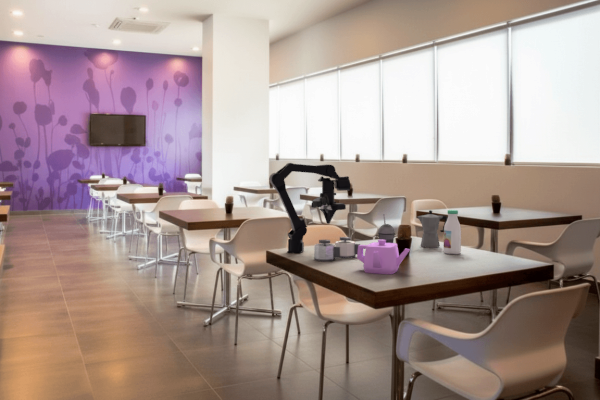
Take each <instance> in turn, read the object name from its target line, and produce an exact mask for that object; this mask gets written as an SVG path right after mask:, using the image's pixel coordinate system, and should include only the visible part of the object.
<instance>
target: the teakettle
mask: <svg viewBox="0 0 600 400" xmlns="http://www.w3.org/2000/svg"><path fill="white" fill-rule="evenodd" d="M385 242H386V240H383V239H380V240H379V239H378V240H377V242H376V241H374V242H373V241H372V242H371V243H369V244H360V245H359V246H358V253H357V254H356V259H357V260H359V261H360V262H362V263H363V270H364V273H366V274H378V275H393V274H395V273H397V272H398V271H399V267H400V264H401V263H402V262H403V260H404V259H405V258H406V256H408V254H409V252H410V251H411V250H410V248H404V249H403V251H402V252H401V253H399V248H398V243H395V242H393V243H385ZM364 249H365V252H364Z"/></svg>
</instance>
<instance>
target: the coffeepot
mask: <svg viewBox="0 0 600 400" xmlns="http://www.w3.org/2000/svg"><path fill="white" fill-rule="evenodd" d="M428 212H429V213H427V214H424V215H423V214H422V215H418V216H416V218H418V221H419V222H420V223H421V226H422V227H421V228H422V230H423V231H422V232H423V233H422V236H421V237H422V238H421V242H420V247H422V248H427V249H428V248H429V249H431V248H432V249H433V248H435V249H436V248H440V247H441V246H440V239H439V234H438V230H439V226H440V221H441V220H442V221H443V220H444V223H443V226H442V229H441V230H439V232H441V233H444V226H445V223H446V221H447V219H448V216H447V215H436V214H433V210H428Z"/></svg>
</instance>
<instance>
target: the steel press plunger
mask: <svg viewBox="0 0 600 400" xmlns="http://www.w3.org/2000/svg"><path fill="white" fill-rule="evenodd" d="M321 243H323V245H326V243H329V244H331V239H319V240H318V244H321Z"/></svg>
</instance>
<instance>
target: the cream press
mask: <svg viewBox="0 0 600 400" xmlns="http://www.w3.org/2000/svg"><path fill="white" fill-rule="evenodd" d="M334 243H335V244H334V245H335V247H340V258H339V259H354V258H357V253H358V246H359V245H361V243H356V241H354V240H349V241H346V243H345V242H344V241H341V240H337V241H335V242H334ZM353 257H354V258H353Z"/></svg>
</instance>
